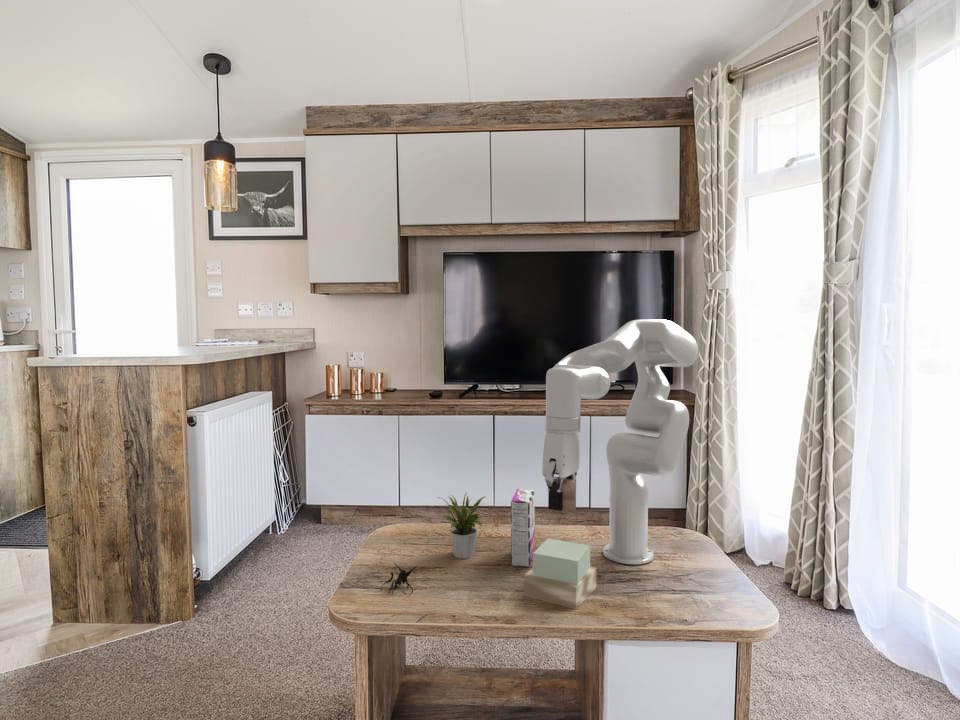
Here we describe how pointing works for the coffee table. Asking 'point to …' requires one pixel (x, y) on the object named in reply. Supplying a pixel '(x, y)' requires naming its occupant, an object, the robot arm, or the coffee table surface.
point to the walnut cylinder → (568, 496)
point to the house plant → (463, 528)
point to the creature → (400, 579)
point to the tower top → (561, 561)
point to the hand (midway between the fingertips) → (562, 504)
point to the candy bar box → (522, 528)
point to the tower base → (560, 589)
